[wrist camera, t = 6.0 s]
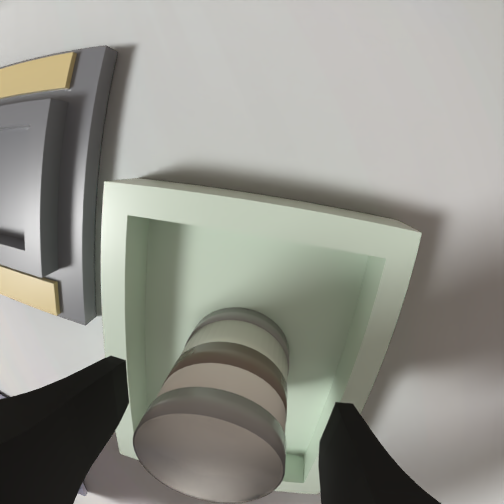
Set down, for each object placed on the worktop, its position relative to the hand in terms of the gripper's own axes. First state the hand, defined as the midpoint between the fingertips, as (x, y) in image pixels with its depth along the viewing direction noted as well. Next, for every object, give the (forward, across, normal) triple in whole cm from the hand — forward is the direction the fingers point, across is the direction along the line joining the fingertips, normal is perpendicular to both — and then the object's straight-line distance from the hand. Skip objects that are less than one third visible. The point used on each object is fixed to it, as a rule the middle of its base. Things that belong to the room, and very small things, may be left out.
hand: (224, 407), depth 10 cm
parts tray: (+4, 0, 0) cm, 4 cm away
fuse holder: (+4, +12, -6) cm, 14 cm away
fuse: (+3, 0, 0) cm, 3 cm away
